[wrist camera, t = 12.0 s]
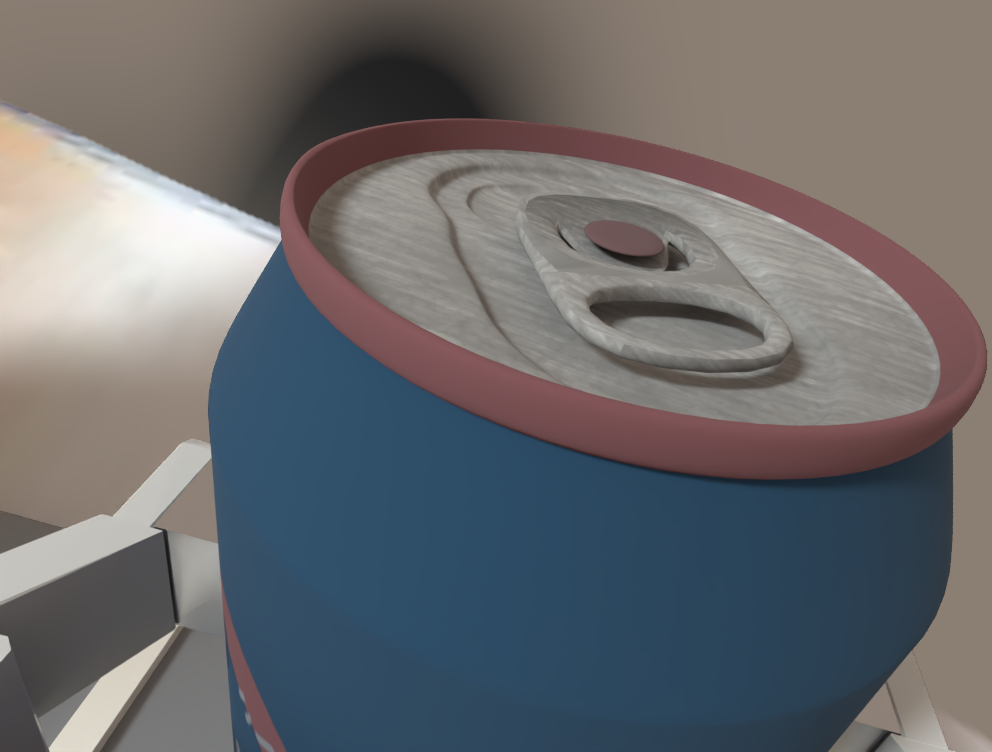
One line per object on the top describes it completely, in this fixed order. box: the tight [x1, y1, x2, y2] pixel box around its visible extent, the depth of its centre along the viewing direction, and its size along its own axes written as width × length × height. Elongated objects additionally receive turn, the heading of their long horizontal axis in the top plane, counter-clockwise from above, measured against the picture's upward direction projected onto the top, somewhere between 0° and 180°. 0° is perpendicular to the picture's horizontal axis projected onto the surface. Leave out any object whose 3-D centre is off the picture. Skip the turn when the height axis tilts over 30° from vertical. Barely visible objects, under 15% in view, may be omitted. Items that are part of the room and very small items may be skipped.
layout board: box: [0, 511, 234, 752], centre depth 12 cm, size 26×12×7 cm, turn 79°
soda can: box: [208, 119, 987, 752], centre depth 9 cm, size 7×7×12 cm
